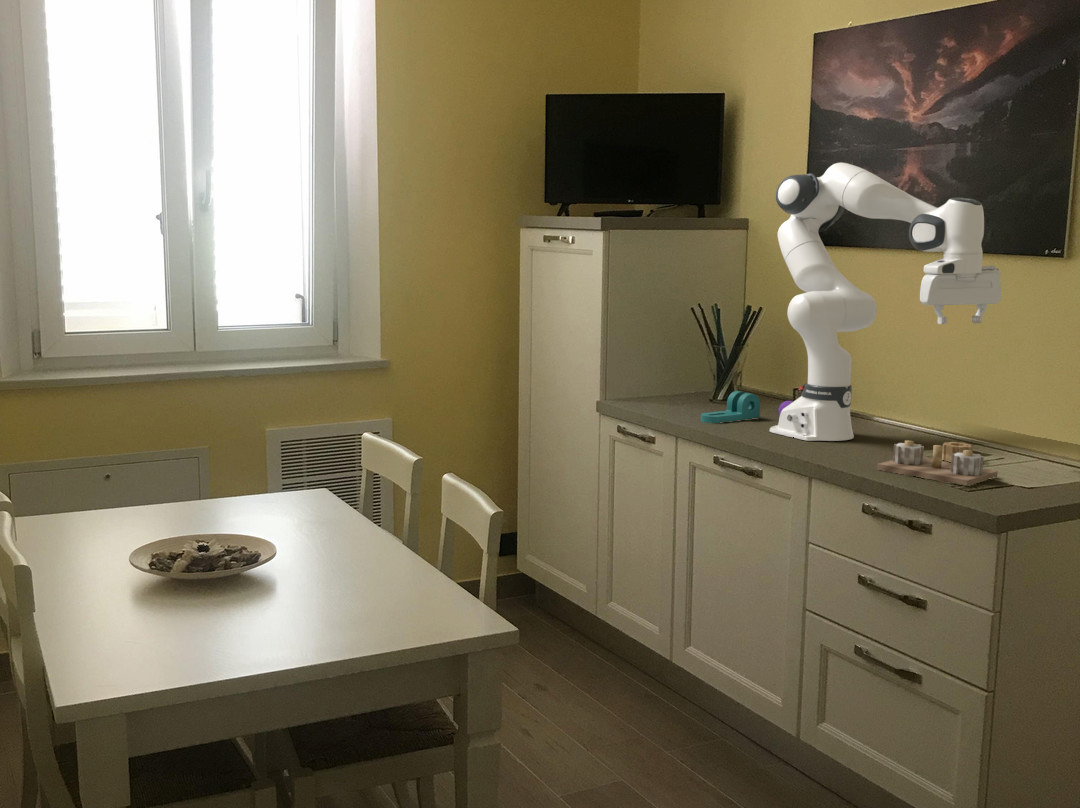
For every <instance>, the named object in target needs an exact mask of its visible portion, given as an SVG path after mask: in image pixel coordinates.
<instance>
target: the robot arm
mask: <svg viewBox="0 0 1080 808" xmlns="http://www.w3.org/2000/svg"><path fill="white" fill-rule="evenodd" d="M775 201H776V203H777V205H778V207H779V208H780V209H781V210H782V211H784V212H785V213H787V214H789V215H790V216H789V218H788V219H787V220H786V221H784V222H782V223H781V225H780V226H779V228H778V231H777V234H776V235H777V240H778V245H779V248H780V252H781V255H782V257H783V260H784V262H785V264H786V266H787V269H788V270H789V273H790V275H791V277H792V279H793V281H794V283H795V285H796V286H797V288H799V290H802V292H804V293H800V294H797V295H795V296H794V297H792V299H791V300H790V302H789V304H788V307H787V311H786V312H787V313H786V314H787V320H788V322H789V324H790V326H791V327H792V328H793V330H795V331H796V332H797V333H798V334H799V336H800V337H801V339H802V340H803V343H804V346H805V349H806V353H807V382H806V383H804V384H803V385H799V386H798V387H799V388H798V389H797V390H798V391H802V392H801V393H800V395H801V396H799V397H798V398H796V399H795V400H794V401H793V402H792V403H791V404H789V405H788V406H787V407H785V408H784V409H783V410H782V411H781V414H780V415H779V418H778V423H777V425H773V426H771V427H770V428H769V432H770V433H773V434H777V435H781V436H785V437H788V438H789V437H790V438H793V437H794V439H798V440H803V441H807V442H808V441H809V442H813V441H815V442H816V441H820V442H821V441H823V442H825V441H826V442H827V441H828V442H835V441H836V442H837V441H838V442H839V441H841V442H842V441H848V440H852V439H854V438H855V437H854V436H855V435H854V433H853V429H852V427H853V426H852V419H851V402H852V394H853V393H852V392H853V389H852V388H853V386H852V384H851V380H852V379H851V375H852V356H851V354H850V353H849V352H848V350H846V349H845V348H844V347H842V346H841V345H840V343H839V340H838V333H849V332H857V331H861V330H863V329H865V328H866V329H867V328H869V327H871V326H872V324H873V323H874V322H875V320H876V318H877V313H878V312H877V311H878V310H877V309H878V306H877V303H876V301H875V299H874V297H873V296H872V295H871V294H870V293H868V292H866V291H863V290H862V289H860V288H858V287H857V286H856V285H854V284H853V283H852V282H851V281H850V280H849V279H847V278H846V277H845V275H843V274H842V272H840V271H839V269H838V268H837V267H836V265H835V264H834V262H833V260H832V258H831V256H830V254H829V253H828V251H827V248H826V247H825V245H824V243H823V241H822V239H821V236H820V234H819V233H820V232H821V233H822V232H824V231H827V230H828V229H829V227H831V226H832V225H834V224H835V223H836V222H837V221H838V220H839V219H840V218H841V217H842V215H843V214H844V210H845V209H846V210H847V211H849V212H851V213H852V214H855V215H857V216H859V217H860V216H861V217H863V218H868V219H875V220H876V219H881V220H897V221H902V222H903V221H904V222H906V223H907V222H908V223H909V224H910V225H909V229H908V239H909V241H910V243H911V245H912V246H913V248H915V249H916V250H918V251H922V252H926V253H928V252H929V253H931V252H933V253H935V252H936V253H937V252H938V253H943V255H942V256H943V258H939V259H937V260H934V261H932V262H930V263H927V264H925V265H924V266H923V273H924V276H922V279H921V283H920V288H919V301H920V303H921V305H923V306H933V310H934V313H935V315H936V317H937V324H938V325H947V323H948V316H945V315H944V313H943V310H945V308H944V307H945V306H953V305H954V306H957V305H959V306H960V305H961V306H962V305H963V306H965V305H976V308H977V311H976V313H975V314H973V315H971V317H972V320H971V322H972V323H973V324H981V323H982V320H983V316H984V314H985V313H986V311H987V309H988V307H987V306H988V305H998V304H999V303H1000V302H1001V300H1002V287H1001V286H1002V285H1001V284H1002V283H1001V270H1000V269H999V268H998V267H997V266H995V265H983V254H984V253H983V247H982V242H983V238H984V237H985V236H984V234H985V216H984V215H985V214H984V207H983V205H982V203H981V202H980V201H979V200H977V199H974V198H967V197H966V198H965V197H951V198H949V199H948V200H947V201H946V202H945V203H944V204H942V205H940V206H939V207H938V206H936V205H933V204H932V203H930V202H928V201H925V200H923V199H920V198H918V197H917V196H914V195H911V194H909V193H908V192H906V191H904V190H902V189H901V188H899V187H896V186H895V185H893V184H892V183H890V182H888V181H887V180H884V179H883V178H881V177H879V176H878V175H877V174H874V173H873V172H870V171H869V170H867V169H865V168H862V167H860V166H857V165H854V164H851V163H848V162H837V163H833V164H832V165H830V166H829V167H828V168H827V169H826V170H825V172H824V173H823V174H822V175H821V176H819V177H818V176H817V175H815V173H805V174H791V175H789V176H786V177H785V178H784V179H782V180H781V181H780V183H779V184H778V185H777V188H776V192H775Z"/></svg>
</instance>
